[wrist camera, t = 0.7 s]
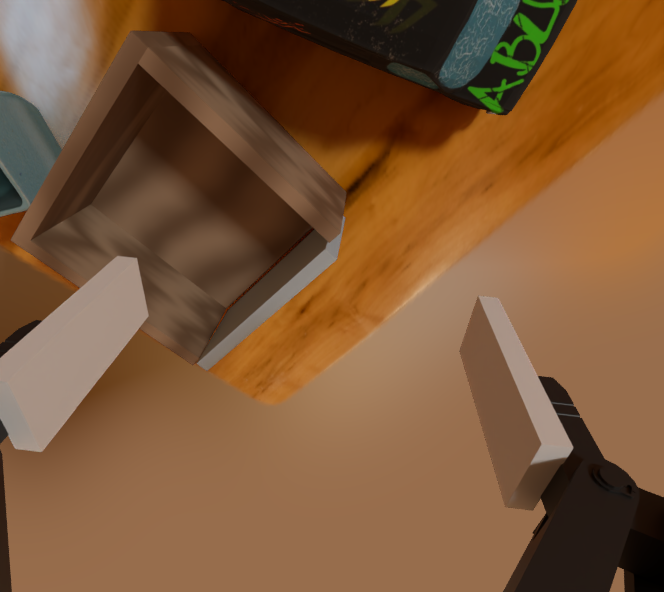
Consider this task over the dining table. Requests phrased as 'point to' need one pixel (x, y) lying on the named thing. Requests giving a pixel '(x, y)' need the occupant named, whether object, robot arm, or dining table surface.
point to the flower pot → (23, 153)
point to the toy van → (433, 40)
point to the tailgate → (271, 294)
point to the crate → (178, 188)
